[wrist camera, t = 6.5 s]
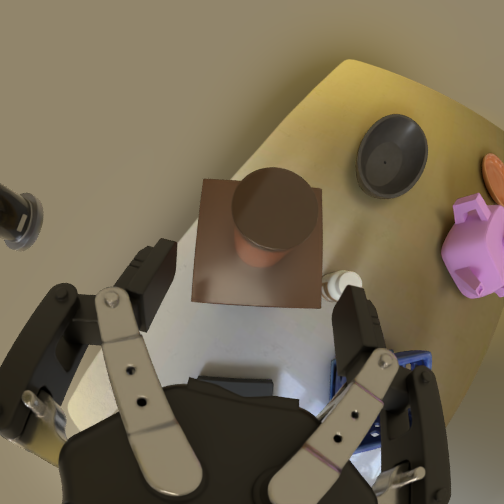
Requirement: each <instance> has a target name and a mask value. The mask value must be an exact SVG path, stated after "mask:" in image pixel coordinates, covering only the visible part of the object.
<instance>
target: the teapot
mask: <svg viewBox="0 0 504 504" xmlns="http://www.w3.org/2000/svg"><path fill="white" fill-rule="evenodd" d="M453 210H454V217H455V224H454V225H453V227H452V228H451V230H450V231H449V233H448V235H447V237H446V239H445V241H444V243H443V246H442V249H441V256H442V259H443V261H444V263H445V265H446V267H447V269H448V271H449V273H450V275H451V277H452V278H453V280H454V282H455V283H456V285H457V287H458V289H459V290H460V292H461V293H462V294H463V295H465V296H466V297H468V298H479V297H482V296H486V295H488V294H490V293H492V292H495V293H496V294H497V295H498V296H499V297H502V296H504V207H503V206H501V205H486V203H485V201H484V200H483V198H482V196H481V195H480V193H476V194H473V195H469V196H466V197H462V198H459V199H457V200H456V202H455V203H454V205H453Z"/></svg>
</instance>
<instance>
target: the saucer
mask: <svg viewBox="0 0 504 504" xmlns="http://www.w3.org/2000/svg"><path fill="white" fill-rule="evenodd" d="M482 174H483V179H484V182H485V185H486V188H487V190H488V192H489V194H490V196H491V197H492V199H493V200H494V201H495V202H496V203H497V204H498V205H501V206H503V207H504V164H503V163H502V161H501V160H500V159H499V158H498V157H497V156H496V155H494V154H492V153H488V154H486V155H485V156H484V158H483V163H482Z"/></svg>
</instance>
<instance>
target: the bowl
mask: <svg viewBox="0 0 504 504" xmlns="http://www.w3.org/2000/svg"><path fill="white" fill-rule="evenodd" d="M427 156H428V145H427V140H426V137H425V134H424V132H423V131H422V129H421V128H420V126H419V125H418V124H417V123H416V122H415V121H414V120H412V119H411V118H409V117H407V116H404V115H400V114H392V115H388V116H385V117H383V118H381V119H380V120H378V121H377V122H376V123H375V124H373V125H372V127H371V128H370V129H369V130H368V131H367V133H366V134H365V136H364V138H363V140H362V142H361V145H360V147H359V151H358V155H357V160H356V176H357V180H358V183H359V185H360V187H361V189H362V190H363V191H364V192H365V193H366V194H368V195H370V196H372V197H375V198H379V199H389V198H395V197H398V196H401V195H403V194H405V193H406V192H407V191H409V190H410V189H411V188H412V187H413V186H414V185H415V184H416V182H417V181H418V180H419V178H420V176H421V175H422V173H423V170H424V168H425V165H426V162H427Z"/></svg>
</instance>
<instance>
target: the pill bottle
mask: <svg viewBox="0 0 504 504" xmlns="http://www.w3.org/2000/svg"><path fill="white" fill-rule="evenodd" d="M347 285H353V286H357V287H361V288H362V280H361V278H360V276H359V275H358V274H357V273H355V272H352V271H346V270H340V271H336V272H333V273H330V274H327V275H325V276H324V277H323V278H322V294H321V297H322V298H323V299H325V300H326V301H329V302H338V300H339V298H340V296H341V294H342V293H343V291H344V289H345V287H346V286H347Z"/></svg>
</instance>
